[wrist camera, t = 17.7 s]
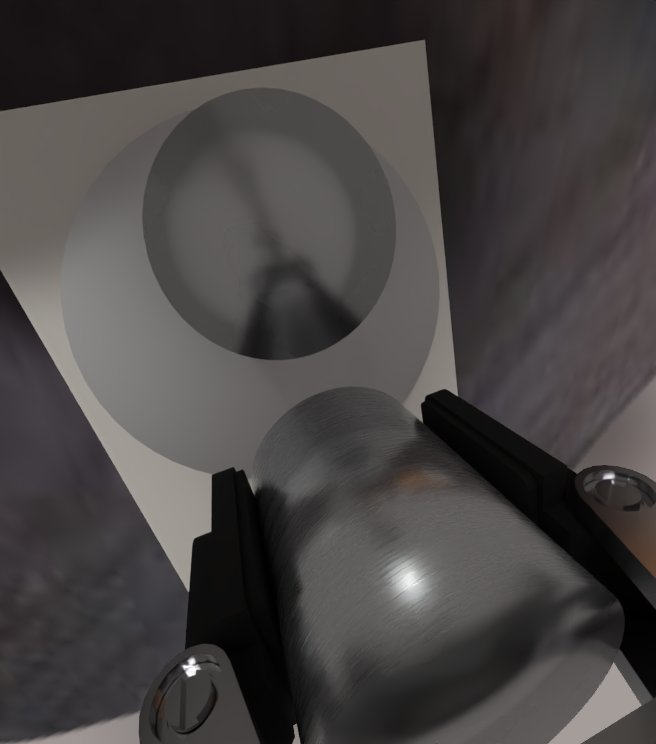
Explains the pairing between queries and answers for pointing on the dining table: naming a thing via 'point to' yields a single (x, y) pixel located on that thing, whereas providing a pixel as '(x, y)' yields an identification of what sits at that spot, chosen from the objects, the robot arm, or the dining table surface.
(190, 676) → the robot arm
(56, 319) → the scale
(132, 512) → the dining table surface
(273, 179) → the disc
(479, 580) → the cylinder
